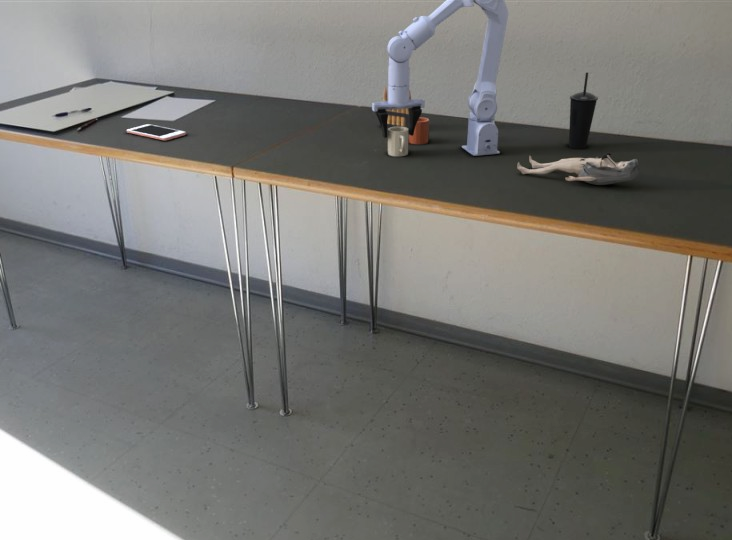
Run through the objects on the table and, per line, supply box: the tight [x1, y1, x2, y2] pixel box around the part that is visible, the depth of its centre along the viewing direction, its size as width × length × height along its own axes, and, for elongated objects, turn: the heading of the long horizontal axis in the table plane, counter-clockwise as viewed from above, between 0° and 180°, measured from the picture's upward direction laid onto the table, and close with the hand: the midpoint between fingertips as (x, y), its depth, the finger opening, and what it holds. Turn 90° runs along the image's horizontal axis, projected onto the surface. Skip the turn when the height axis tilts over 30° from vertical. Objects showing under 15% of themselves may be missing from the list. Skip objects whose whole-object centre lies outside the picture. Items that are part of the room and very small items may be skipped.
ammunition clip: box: [382, 86, 412, 129], centre depth 248 cm, size 11×2×12 cm, turn 53°
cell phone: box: [126, 123, 187, 142], centre depth 250 cm, size 9×18×1 cm, turn 53°
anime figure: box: [516, 152, 640, 186], centre depth 202 cm, size 10×7×30 cm
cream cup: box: [387, 127, 409, 157], centre depth 224 cm, size 8×6×7 cm
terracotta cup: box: [408, 116, 430, 145], centre depth 236 cm, size 8×6×6 cm
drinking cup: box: [568, 72, 599, 149], centre depth 225 cm, size 8×8×20 cm
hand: (398, 135), depth 224 cm, fingers open, 7 cm apart
